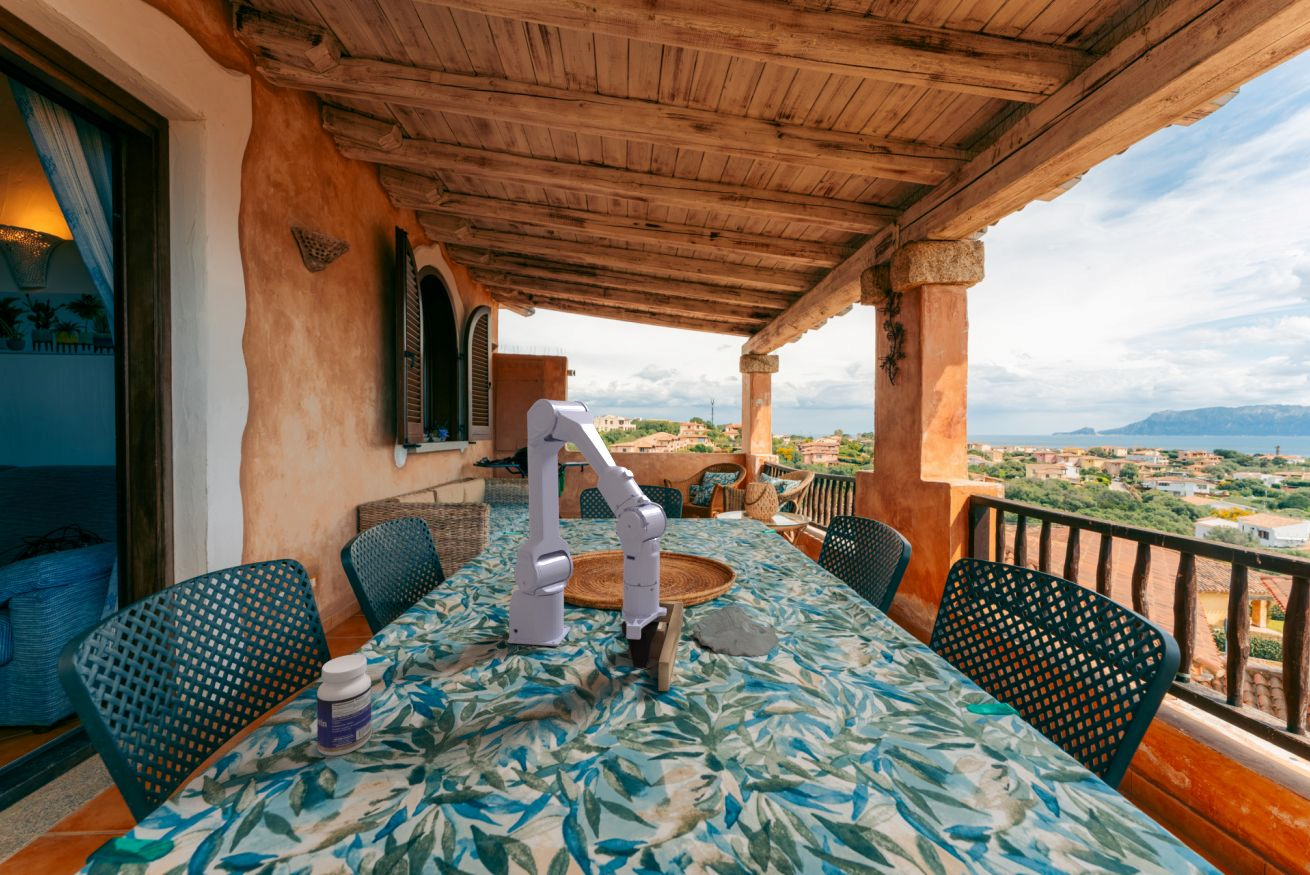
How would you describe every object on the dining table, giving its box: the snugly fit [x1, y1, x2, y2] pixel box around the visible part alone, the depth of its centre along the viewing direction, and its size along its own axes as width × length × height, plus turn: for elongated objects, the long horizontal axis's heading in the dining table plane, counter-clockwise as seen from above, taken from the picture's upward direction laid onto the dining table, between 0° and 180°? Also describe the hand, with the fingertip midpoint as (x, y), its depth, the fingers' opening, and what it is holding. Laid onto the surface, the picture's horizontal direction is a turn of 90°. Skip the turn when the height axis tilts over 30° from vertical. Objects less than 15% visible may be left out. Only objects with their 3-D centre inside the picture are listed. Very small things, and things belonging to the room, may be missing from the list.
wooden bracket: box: [658, 600, 684, 692], centre depth 89 cm, size 10×28×4 cm, turn 172°
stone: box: [692, 605, 779, 658], centre depth 94 cm, size 16×4×15 cm
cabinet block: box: [628, 622, 667, 661], centre depth 88 cm, size 6×4×5 cm, turn 83°
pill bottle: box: [316, 654, 373, 757], centre depth 62 cm, size 6×6×10 cm
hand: (640, 666), depth 81 cm, fingers closed
